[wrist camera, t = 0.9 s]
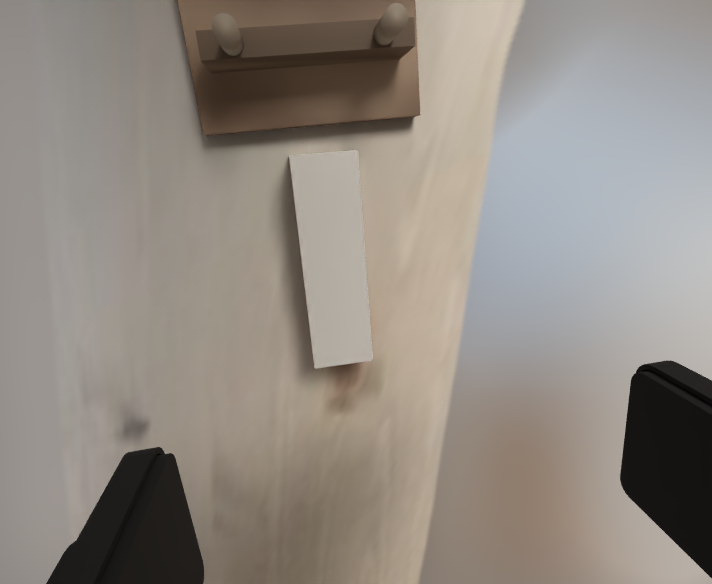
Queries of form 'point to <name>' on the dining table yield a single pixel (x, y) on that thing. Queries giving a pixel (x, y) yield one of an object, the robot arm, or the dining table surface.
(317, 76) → the walnut rack
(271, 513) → the dining table surface
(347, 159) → the white rectangular block
